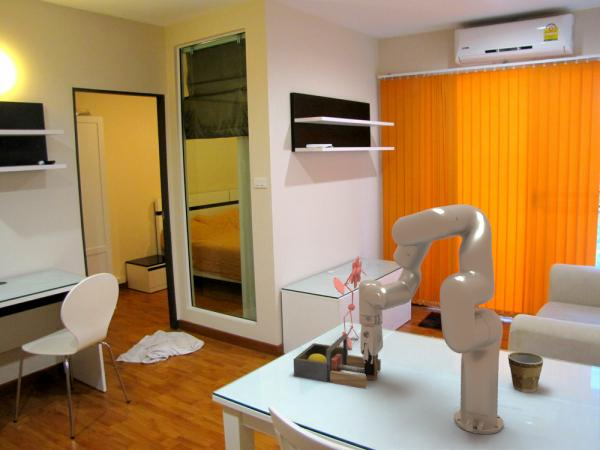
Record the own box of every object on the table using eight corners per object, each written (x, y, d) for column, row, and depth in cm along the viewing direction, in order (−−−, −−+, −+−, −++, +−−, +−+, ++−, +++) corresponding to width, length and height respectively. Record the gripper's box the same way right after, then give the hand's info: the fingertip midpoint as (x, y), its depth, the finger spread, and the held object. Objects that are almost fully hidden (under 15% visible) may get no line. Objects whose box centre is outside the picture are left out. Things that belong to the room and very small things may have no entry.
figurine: (328, 353, 195) (328, 261, 190) (349, 332, 219) (350, 249, 214) (368, 359, 189) (369, 264, 185) (385, 337, 213) (387, 252, 208)
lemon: (332, 355, 182) (310, 352, 185) (326, 355, 177) (304, 352, 180) (330, 371, 181) (309, 368, 184) (324, 372, 176) (303, 368, 179)
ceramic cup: (546, 396, 156) (547, 364, 155) (510, 394, 159) (511, 362, 157) (535, 378, 169) (536, 348, 168) (503, 376, 171) (503, 347, 170)
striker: (373, 381, 169) (373, 354, 168) (331, 374, 176) (330, 348, 175) (378, 374, 174) (378, 348, 173) (337, 368, 181) (337, 343, 180)
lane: (365, 388, 165) (365, 377, 165) (330, 382, 170) (330, 371, 170) (380, 369, 180) (380, 359, 179) (347, 364, 185) (347, 354, 184)
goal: (330, 382, 170) (329, 350, 169) (293, 376, 176) (293, 344, 175) (347, 364, 185) (347, 334, 184) (313, 359, 191) (313, 329, 189)
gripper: (374, 327, 161) (374, 384, 163) (389, 312, 176) (389, 365, 178) (351, 324, 164) (352, 380, 167) (367, 310, 179) (368, 361, 181)
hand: (371, 371), depth 172 cm, fingers closed on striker, 3 cm apart
